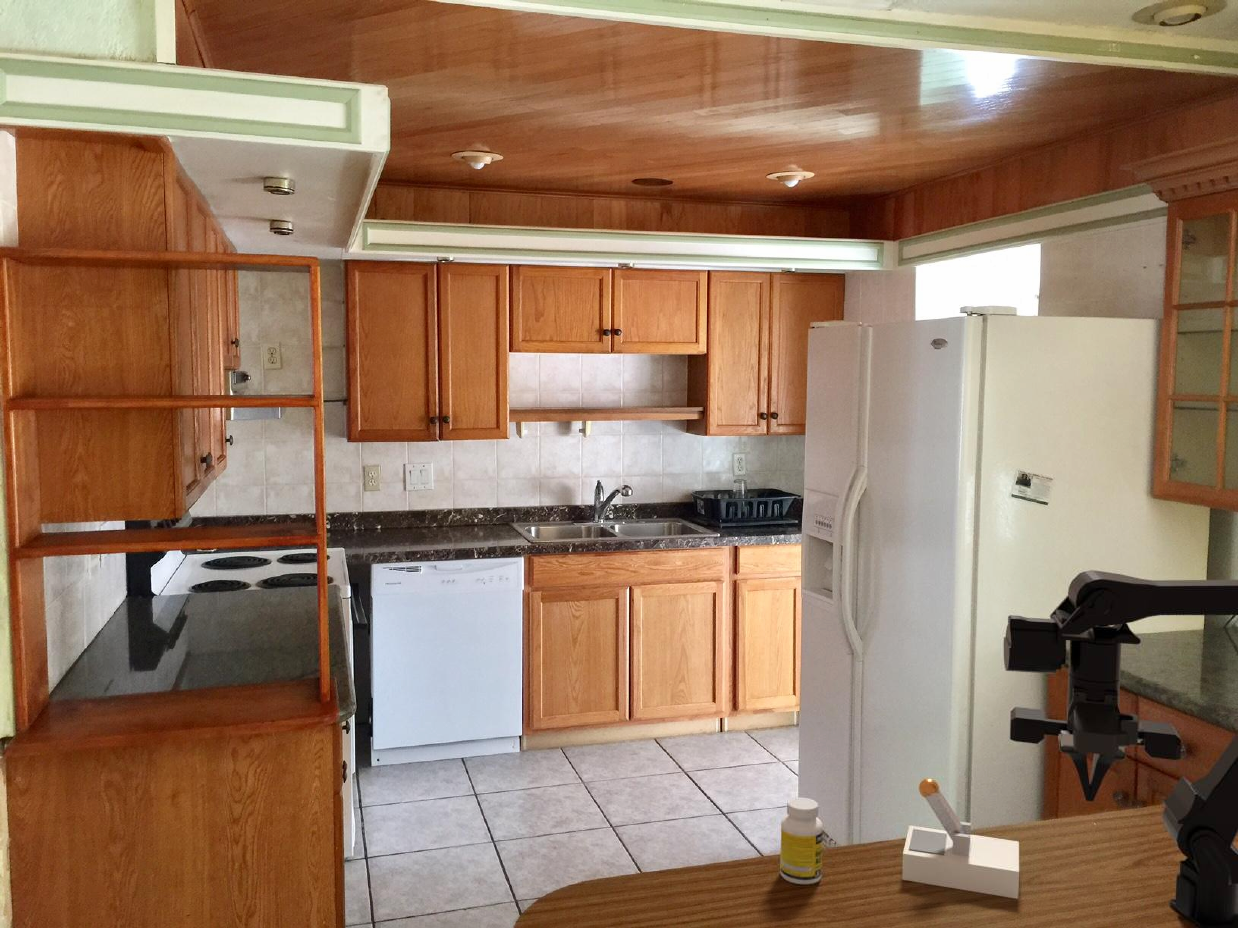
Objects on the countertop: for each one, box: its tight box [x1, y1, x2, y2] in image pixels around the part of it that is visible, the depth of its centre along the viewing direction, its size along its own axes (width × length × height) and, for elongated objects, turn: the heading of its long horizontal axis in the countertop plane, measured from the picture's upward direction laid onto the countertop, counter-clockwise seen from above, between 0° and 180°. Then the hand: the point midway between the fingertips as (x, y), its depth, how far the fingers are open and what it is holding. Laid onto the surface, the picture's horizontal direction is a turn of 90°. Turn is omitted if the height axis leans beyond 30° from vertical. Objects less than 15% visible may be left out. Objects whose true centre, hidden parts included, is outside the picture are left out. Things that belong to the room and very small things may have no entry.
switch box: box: [902, 821, 1020, 900], centre depth 135 cm, size 14×9×6 cm, turn 69°
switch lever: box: [918, 778, 965, 841], centre depth 135 cm, size 3×3×10 cm
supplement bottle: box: [779, 797, 824, 885], centre depth 134 cm, size 5×5×10 cm
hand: (1089, 800), depth 127 cm, fingers closed
